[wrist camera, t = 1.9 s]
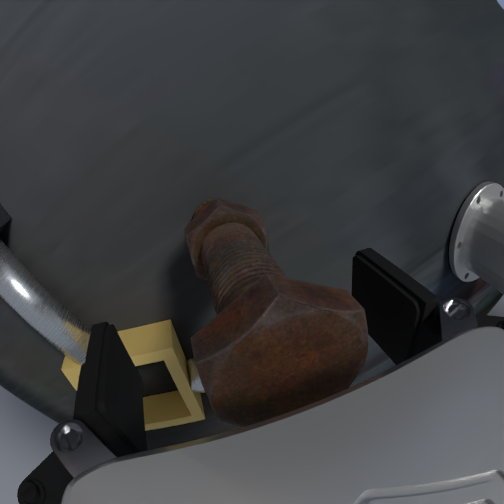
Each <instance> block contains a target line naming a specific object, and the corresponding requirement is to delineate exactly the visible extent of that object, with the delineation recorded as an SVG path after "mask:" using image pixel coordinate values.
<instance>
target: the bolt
mask: <svg viewBox="0 0 504 504" xmlns="http://www.w3.org/2000/svg"><path fill="white" fill-rule="evenodd" d="M203 204H205V205H201V206H199V207H198V208H197V209H196V211H195V213H194V216H193V220H192V221H191V222H190V223H189V224H188V225H187V227H186V228H185V229H184V233H185V238H186V242H187V246H188V250H189V254H190V257H191V261H192V264H193V268H194V271H195V274H196V276H197V277H199V278H202V279H204V280H207V281H208V285H209V288H210V293H211V296H212V300H213V304H214V307H215V310H216V313H217V316H215V317H214V318H213V319H212V320H211V321H210V322H208V323H207V324H206V325H205V326H204V327H202V328H201V329H200V330H199V331H198V332H197V333H195V334H194V335H193V336H192V337H191V344H192V350H193V356H194V362H195V365H196V368H197V371H198V374H199V377H200V380H201V383H202V386H203V388H204V390H205V393H206V395H207V397H208V400H209V402H210V404H211V407H212V409H213V411H214V413H215V414H216V416H217V417H218V418H219V419H220V420H222V421H225V422H228V423H231V424H234V425H237V426H241V427H246V426H249V425H252V424H255V423H258V422H261V421H265V420H268V419H271V418H274V417H277V416H279V415H282V414H285V413H288V412H291V411H294V410H296V409H299V408H302V407H304V406H307V405H309V404H312V403H315V402H317V401H320V400H322V399H325V398H327V397H329V396H332V395H334V394H337V393H339V392H341V391H343V390H346V389H348V388H349V387H350V385H351V384H352V382H353V381H354V380H355V378H356V377H357V375H358V374H359V372H360V371H361V369H362V368H363V366H364V364H365V361H366V359H367V353H368V328H367V321H366V315H365V309H364V308H363V307H362V306H361V305H360V304H359V303H358V302H357V301H356V300H355V298H354V297H353V296H352V295H351V294H350V293H349V292H348V291H347V290H342V289H337V288H332V287H327V286H323V285H318V284H313V283H308V282H303V281H299V280H294V279H289V278H286V277H285V275H284V274H283V272H282V270H281V269H280V267H279V266H278V265H277V263H276V262H275V261H274V259H273V258H272V256H271V255H270V253H269V248H268V239H267V234H266V229H265V225H264V221H263V217H262V216H261V215H260V214H259V213H258V211H256V210H253V209H250V208H248V207H245V206H242V205H238V204H235V203H231V202H227V201H223V200H220V199H209V200H206V201H204V202H203Z"/></svg>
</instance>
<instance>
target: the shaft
mask: <svg viewBox="0 0 504 504" xmlns="http://www.w3.org/2000/svg"><path fill="white" fill-rule="evenodd" d="M10 220H11V217H10V216H9V214H8V213H7V212H6V211H5V209H4V208H3V207H2V206H1V204H0V233H1V231H2V230H3V229H4V227H5V226H6V225H7V223H8V222H9V221H10ZM0 296H1V297H2V298H3V300H4V301H5V302H6V303H7V304H8V305H9V306H10V307H11V308H12V309H13V310H14V311H15V312H17V313H18V314H19V315H20V316H21V317H22V318H23V319H24V320H25V321H26V322H27V323H28V324H29V325H30V326H31V327H32V328H34V329H35V330H36V331H37V332H38V333H39V334H40V335H41V336H43V337H44V338H45V339H46V340H47V341H48V342H50V343H51V344H52V345H53V346H54V347H56V348H57V349H58V350H59V351H60V352H62V353H63V354H64V355H65V356H67V357H68V358H69V359H70V360H72V361H73V362H74V363H75V364H77V365H81V366H82V364H83V363H85V359H86V353H87V348H88V343H89V338H90V333H91V330H90V329H89V328H88V327H87V326H85V325H84V324H83V323H82V322H81V321H80V320H79V319H78V318H76V317H75V316H74V315H73V314H72V313H71V312H70V311H69V310H68V309H67V308H66V307H64V306H63V305H62V304H61V303H60V302H59V301H58V300H57V299H56V298H55V297H54V296H53V295H52V294H51V293H50V292H49V291H48V290H47V289H46V288H45V287H44V286H43V285H42V284H41V283H40V282H39V281H38V280H37V279H36V278H35V277H34V276H33V275H32V274H31V273H30V272H29V271H28V270H27V269H26V267H25V266H24V265H23V264H22V263H21V262H20V261H19V260H18V259H17V258H16V256H15V255H14V254H13V253H12V252H11V251H10V250H9V249H8V247H7V246H6V245H5V244H4V243H3V241H2V240H1V239H0Z"/></svg>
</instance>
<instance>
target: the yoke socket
mask: <svg viewBox="0 0 504 504" xmlns="http://www.w3.org/2000/svg"><path fill="white" fill-rule="evenodd" d="M118 334H119V336H120V338H121V340H122V342H123V344H124V346H125V348H126V350H127V352H128V354H129V355H130V357H131V359H132V361H133V363H134V365H135V366H139V365H144V364H149V363H154V362H158V361H163V360H164V362H165V364H166V366H167V368H168V370H169V372H170V374H171V376H172V378H173V380H174V382H175V384H176V386H177V388H178V390H177V391H172V392H167V393H162V394H157V395H152V396H147V397H143V407H144V422H145V431H147V430H153V429H159V428H164V427H170V426H175V425H180V424H185V423H190V422H195V421H200V420H204V419H205V414H204V409H203V404H202V399H201V394H200V393H193V392H192V390H191V385H190V379H189V372H188V365H187V364H188V363H187V360H186V358H185V355H184V353H183V350H182V348H181V345H180V343H179V340H178V338H177V335H176V332H175V330H174V327H173V325H172V322H171V319H169V320H165V321H161V322H157V323H153V324H149V325H144V326H140V327H136V328H131V329H127V330H122V331H118ZM80 369H81V365H77V364H75V363H74V362H73V361H72V360H70V359H69V358H68V357H67V356H65V358H64V362H63V365H62V369H61V370H62V371H63V373H64V374H65V376H66V377H67V378H68V380H69V381H70V383H71V384H72V385H73V387H74V388H75V390H76V391H77V387H78V381H79V375H80Z"/></svg>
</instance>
